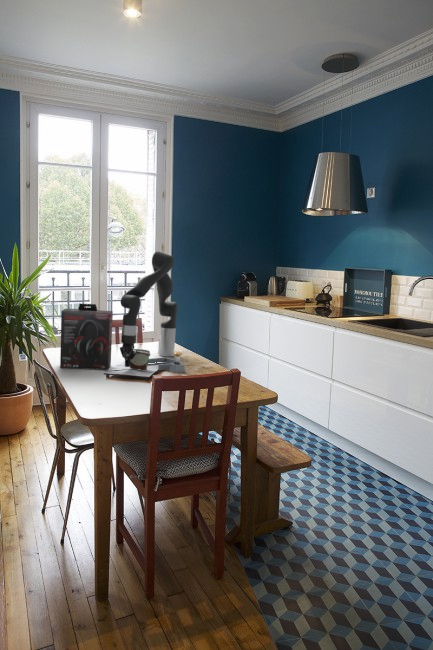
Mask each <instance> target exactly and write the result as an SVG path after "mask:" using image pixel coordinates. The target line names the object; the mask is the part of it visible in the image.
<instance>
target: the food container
mask: <svg viewBox="0 0 433 650" xmlns="http://www.w3.org/2000/svg"><path fill="white" fill-rule="evenodd" d="M134 350H135V351H137V353H136V355H135V357H134V358H133V359H131V360H130V367H129V369H130V368H133V369H132V370H136V369H140V370H139V371H143V370H147V371H148V360H149V359H150V357H151V352H150V350H148V349H144V348H143V349H142V348H141V349H140V348H134Z"/></svg>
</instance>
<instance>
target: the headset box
mask: <svg viewBox="0 0 433 650" xmlns="http://www.w3.org/2000/svg"><path fill="white" fill-rule="evenodd" d="M113 317H114V315H113V310H98V307H97V304H96V303H95V304H94V303H79V305H78V308H64V309H62V310H61V316H60V318H61V320H60V354H59V355H60V359H59V362H60V363H59V368H61V369H79V370H80V369H81V370H101V371H102V370H103V371H107V370H109V368H110V367H111V366H112V365H111V364H112V345H113V344H112V343H113V342H112V338H113Z"/></svg>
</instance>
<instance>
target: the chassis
mask: <svg viewBox="0 0 433 650" xmlns="http://www.w3.org/2000/svg"><path fill="white" fill-rule="evenodd" d="M174 361H175V359H173V358H169V357H167V356H162V357H156V358H155V357H154V358H149V360H148V363H155V362H156V363H157V362H166V363H159V364H158V365H157V370H158V371H167V370H168V372H170V373H176V374H177V373H185V369H186V364H184V361H180V364H174Z"/></svg>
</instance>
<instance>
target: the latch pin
mask: <svg viewBox="0 0 433 650" xmlns="http://www.w3.org/2000/svg"><path fill="white" fill-rule="evenodd" d="M173 354H174V360H175V361H174V364H180V362H181V356H182V355H183V354H182V352H177V351H174V353H173Z"/></svg>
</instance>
